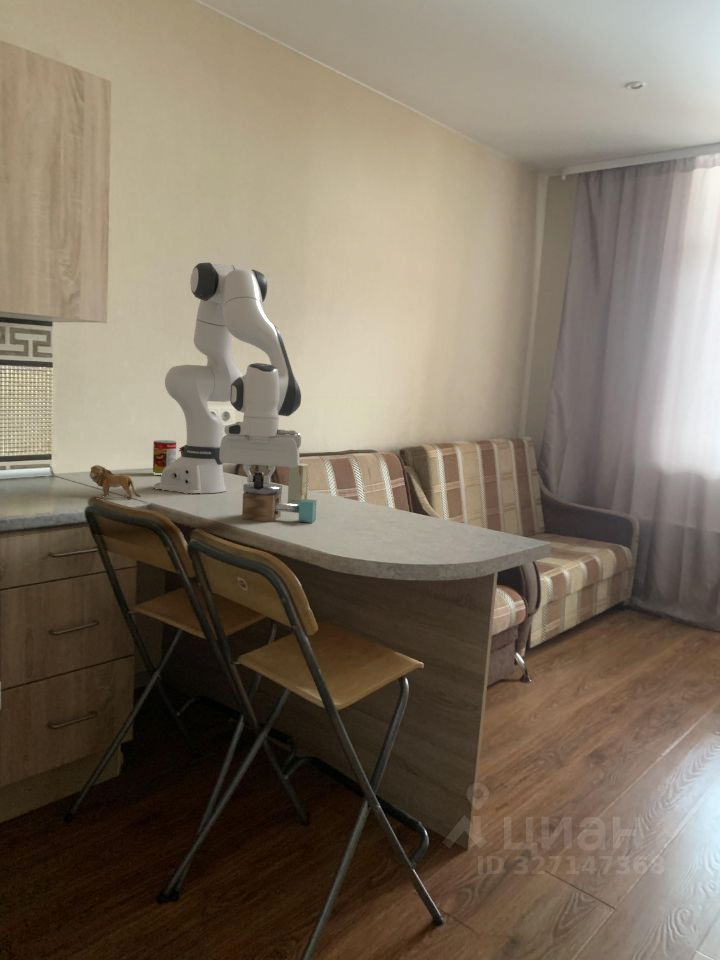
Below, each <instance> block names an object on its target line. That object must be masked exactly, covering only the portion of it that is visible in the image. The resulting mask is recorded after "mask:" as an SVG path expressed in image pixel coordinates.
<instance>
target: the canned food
mask: <svg viewBox="0 0 720 960" xmlns="http://www.w3.org/2000/svg"><path fill="white" fill-rule="evenodd" d="M152 449H153V450H152V451H153V453H152V455H153V456H152V459H153V460H152V465H153V466H152V473H153V472H155V473H162V472H163V470H164V469H165V468H166V467H167V466H168V465H170V464H171V463H172V462H174V461H175V460H177V441H176V440H166V439H165V440H164V439H162V440H161V439H160V440H159V439H157V440H156V439H155V440H153V447H152Z"/></svg>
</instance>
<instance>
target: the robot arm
mask: <svg viewBox="0 0 720 960" xmlns="http://www.w3.org/2000/svg"><path fill="white" fill-rule="evenodd" d="M192 269H193V270H192V272H191V275H190V279H189V280H190V283H189V285H190V290H191V293H192V295H194V297H195V298H197V299H198V300H200V301H199V305H198V308H197V309H198V310H197V314H196V322H195V326H194V327H195V328H194V336H193V344H194V346H195V349H196V350H198V351H199V352H200V353H202V354H203V355H205V356H206V361H207V364H206V365H199V364H198V365H197V364H182V365H181V364H180V365H175V366H172V367H171V368H170V369H169V370H168V371H167V373H166V375H165V378H164V385H165V389H166V392H167V394H168V395H169V396H170V397H171V398H172V399H174V401H175V402H176V403H177V404H178V405H179V407H180V408H181V410H182V413H183V416H184V419H185V426H186V427H185V428H186V444H185V445H183V446H180V447H178V449H179V450H178V452H180V456H179V457H178V458H176V460H175V461H174V462H172V463H171V464H170V465H168V466H167V467H166V468H165V469H164V470H163V472H162V476H160V482H157V483H155V484H154V485H153V488H157V489H163V490H162V491H164V490H170V491H169V492H172V491H178V492H177V493H180V492H185V493H184V494H188V493H200V494H214V493H222V492H226V491H227V487H226V483H225V478H224V467H223V464H233V465H234V464H236V465H243V466H242V467H243V468H242V469H243V471H244V473H245V475H246V476H247V479H246V480H247V481H246V482H247V483H254V474H252V473H251V471H250V469H251V466H263V467H264V466H265V467H267V470H268V474H267V475H264V477H263V479H264V481H263V483H268V484H269V483H271V476H272V475H273V474H274V472H275V470H276V467H280V468H289V467H296V466H297V465H298V464H299V463H300V447H301V445H302V437H301V434H300V433H299V432H296V430H285V429H279V418H280V417H281V416H283V417H289V416H291V415H292V414H294V413H295V412H296V411H297V410H299V408H300V406H301V403H302V393H301V388H300V386H299V383H298V381H297V379H296V377H295V375H294V372H293V368H292V366H291V363H290V360H289V356H288V353H287V350H286V346H285V344H284V340H283V338H282V335H281V332H280V330H279V328H278V327H277V326H275V324H273V323H272V322H271V321H270V319H269V318H268V316H267V314H266V312H265V309H264V301H265V299H266V297H267V294H268V281H267V278H266V276H265V274H263V273H262V272H260V271H258V270H255V269H249V268H245V267H243V266H237V265H231V264H230V265H229V264H219V263H212V262H201V263H198V264H196V265H195V266H194V268H192ZM233 337H234V338H235V339H237V340H238V341H241V342H244V343H246V344H248V345H249V344H250V345H251V346H253V347H256V348H257V349H260V350H261V351H262V352H264V353H265V354H266V355H267V357H268V359H269V361H270V364H267V363H263V362H262V363H259V362H258V363H257V362H256V363H255V362H254V363H251V364H250V363H249V364H248V365H247V368H246V372H245V374H243V373H242V372H241V370H239V369H238V367H237V366H236V364H235V362H234V361H233V357H232V349H231V348H232V338H233ZM208 402H215V403H216V402H221V403H224V402H230V404H231V406H232V407H233V408H234V409H235V411H238V412H240V413H243V418H242V419H243V420H242V421H237V422H234V423H232V424H227V425H225V427H224V423H223V421H222V420H221V418H220V417H219V416H217V415H216V414H215V413H213V412H211V411H210V408H209V406H208ZM279 416H280V417H279ZM224 434H225V435H224Z"/></svg>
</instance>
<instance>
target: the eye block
mask: <svg viewBox="0 0 720 960" xmlns="http://www.w3.org/2000/svg"><path fill="white" fill-rule="evenodd" d="M275 503H282V493H281V494H275V495H257V494H249V493H245V492H243V493H242V511H241V513H242V515H241V518H242V519H241V520H247V519H248V520H250V521H258V522H259V521H261V522H270V521H272V522H274V521H276V520H277V519H279V518H280V517H281V514H282V512H281V511H275ZM278 517H279V518H278Z"/></svg>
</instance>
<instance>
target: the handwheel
mask: <svg viewBox="0 0 720 960" xmlns="http://www.w3.org/2000/svg"><path fill="white" fill-rule="evenodd" d="M253 475H254V482H247V483H244V484H243V485H242V486H243V487H242V488H243V493H249V494H257V495H275V494H281V495H282V492H283V485H281V484H278V483H277V484H276V483H271V482H270V483H269V484H268V483H263V481H264V479H263V477H264V476H265V472H264V471H253Z"/></svg>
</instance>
